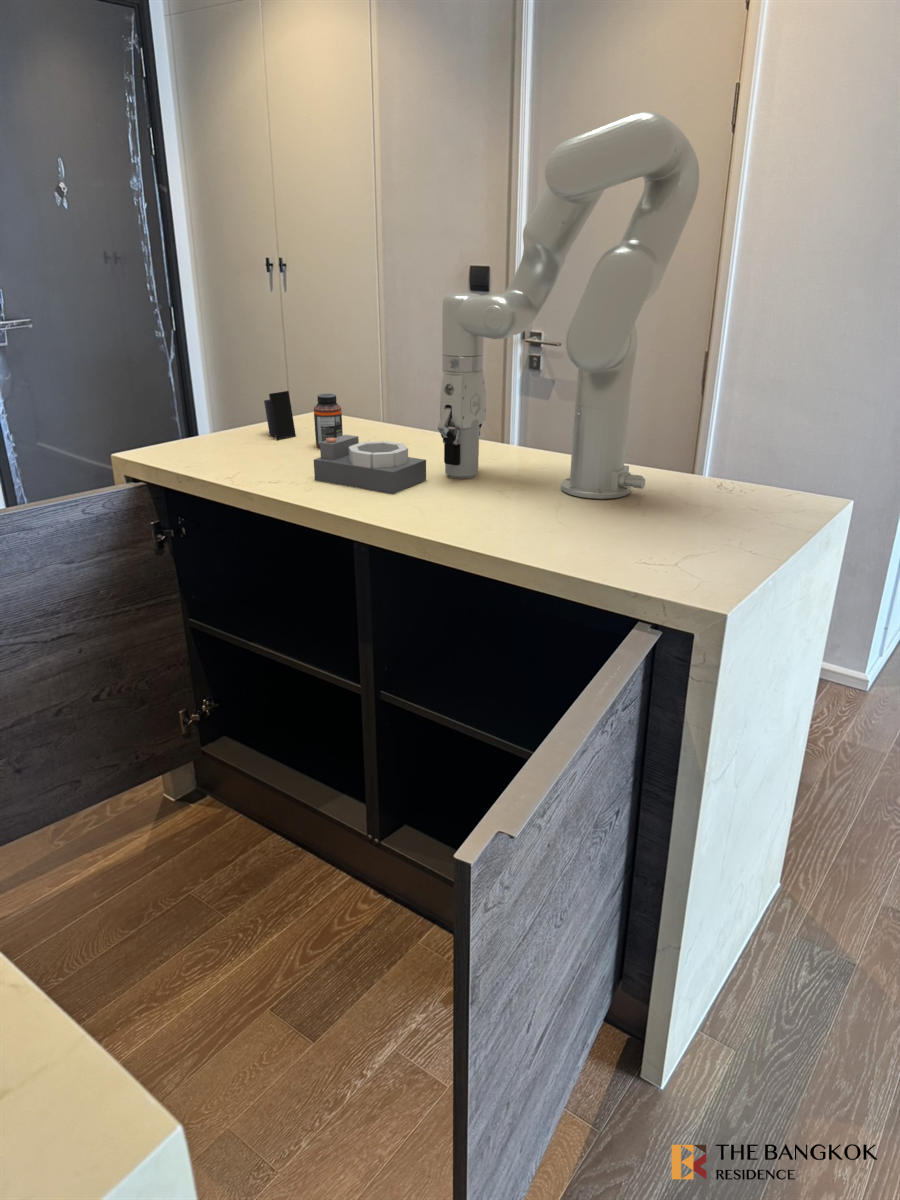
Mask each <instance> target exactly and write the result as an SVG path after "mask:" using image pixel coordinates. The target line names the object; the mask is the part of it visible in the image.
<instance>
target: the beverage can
mask: <svg viewBox="0 0 900 1200" xmlns="http://www.w3.org/2000/svg"><path fill="white" fill-rule="evenodd" d="M449 426H453V427H456V426H455V424H454V423H449ZM450 431H451V432H452V434H453V436H454V433H455V431H453V430H450ZM458 444H460V465H450V464H445V463H444V465H445V466H444V468H445V469H444V470H445V471H444V473H445V475H447V476H448V477H449V478H451V479H454V480H469V479H473V478H475V476H476V475H478V474H479V455H480V454H479V453H480V452H479V451H480V449H479V448H480V436H479V420H477V419H475V420H474V421H473V422H472V423H471V427H470V428H468V429H465V430H461V431H460V437H459V441H458Z"/></svg>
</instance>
